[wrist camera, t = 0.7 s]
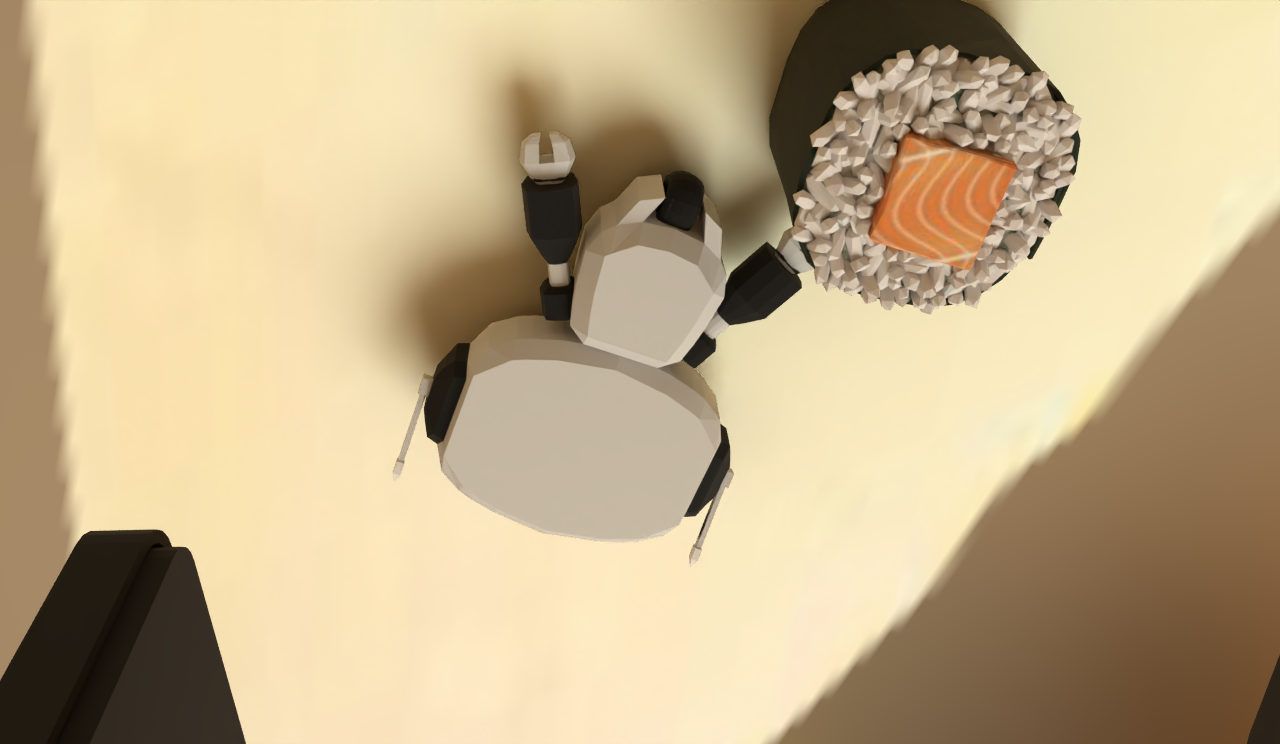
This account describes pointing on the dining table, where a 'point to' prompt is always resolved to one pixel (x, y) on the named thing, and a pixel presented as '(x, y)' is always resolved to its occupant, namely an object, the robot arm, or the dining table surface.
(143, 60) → the dining table surface
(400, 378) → the dining table surface
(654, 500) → the robot toy
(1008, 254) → the sushi
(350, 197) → the dining table surface
